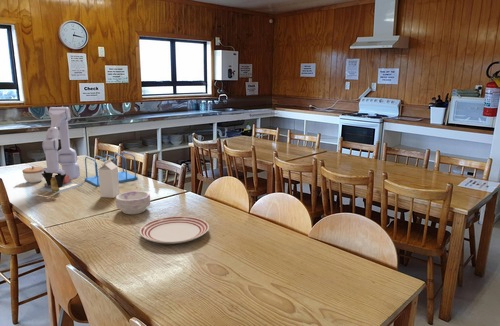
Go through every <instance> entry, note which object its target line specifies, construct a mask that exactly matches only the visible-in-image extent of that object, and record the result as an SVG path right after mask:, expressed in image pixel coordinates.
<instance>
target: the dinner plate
mask: <svg viewBox="0 0 500 326" xmlns="http://www.w3.org/2000/svg"><path fill="white" fill-rule="evenodd" d="M209 229H210V225H209V223H208V222H207V221H206V220H204V219H201V218H198V217H194V216H187V215H177V216H173V215H172V216H166V217H162V218H157V219H154V220H151V221H148V222H146V223H144V224H143V225H142V226H141V227H140V229H139V234H140V236H141V237H142V238H144V239H145V240H147V241H150V242H153V243H158V244H168V245H171V244H172V245H175V244H182V243H186V242H187V243H188V242H190V241H194V240H196V239H198V238H201V237H202V236H204V235H205V234H206V233H207V232H208V231H209Z"/></svg>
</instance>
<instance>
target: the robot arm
mask: <svg viewBox="0 0 500 326" xmlns="http://www.w3.org/2000/svg"><path fill="white" fill-rule="evenodd" d="M71 115H72V114H71V109H70V108H69V107H68V106H57V107H56V106H50V107H49V108H48V116H49V117H50V120H51V122H50V127H49V128H48V129H47V132H46V136H45V139H43V140H42V143H41V144H42V145H41V147H42V150H43V153H44V154H45V155H44V156H45V163H46V167H42V172H44V173H42V176H43V179H45V183H47V185H48V186H50V185H51V181H50V180H51V178H52V177H55V178H56V180H57V185H58V187H59V188H60V187H62V185H63V180H64V178H65V176H66V175H69V180H74V179H76V178H79V177H82V176H81V170H80V165H79V164H78V163H77V162H78V154H77V151H76V150H75V149H74V148H72V147H71V140H70V139H71V138H70V131H69V121H71V119H72V118H71V117H72V116H71ZM59 136H60V137H59ZM59 138H60V147H61V148H60V149H59ZM60 166H61V168H60ZM53 174H54V176H53Z"/></svg>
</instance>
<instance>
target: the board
mask: <svg viewBox="0 0 500 326" xmlns="http://www.w3.org/2000/svg"><path fill="white" fill-rule="evenodd" d="M84 185H85V184H83V183H78V182H71V181H70V182H69V183H67V184H64V185H62V187H60V188H59V191H56V192H53V191H52V188H49V187H45V186H44V187H40V188H37V189H35V190H37V191H42V192H48V193H53V194H60V193H63V192H66V191H69V190H72V189H75V188H78V187H81V186H84Z"/></svg>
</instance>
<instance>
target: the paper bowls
mask: <svg viewBox="0 0 500 326" xmlns="http://www.w3.org/2000/svg"><path fill="white" fill-rule="evenodd" d="M115 204H116V209H118V210H121V212H122V213H124V214H126V215H137V214H141V213H143V212H145V211H146V209H147V208H148V207H150V205H151V195H150V193H149V192H147V191H142V190H131V191H126V192H121V193H119V194H118V195H117V196H115Z"/></svg>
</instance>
